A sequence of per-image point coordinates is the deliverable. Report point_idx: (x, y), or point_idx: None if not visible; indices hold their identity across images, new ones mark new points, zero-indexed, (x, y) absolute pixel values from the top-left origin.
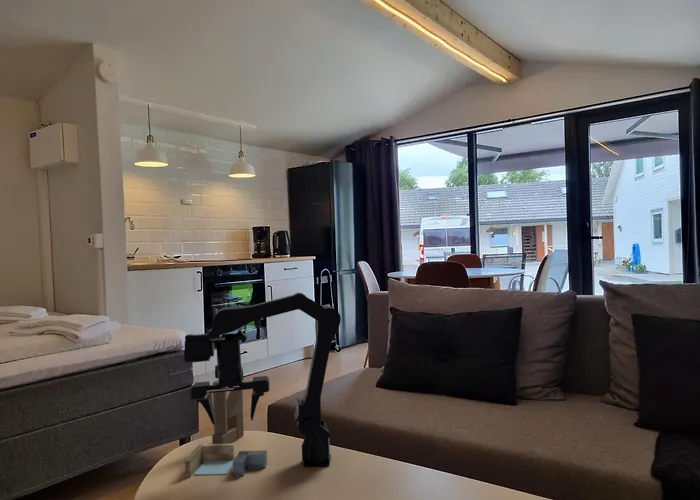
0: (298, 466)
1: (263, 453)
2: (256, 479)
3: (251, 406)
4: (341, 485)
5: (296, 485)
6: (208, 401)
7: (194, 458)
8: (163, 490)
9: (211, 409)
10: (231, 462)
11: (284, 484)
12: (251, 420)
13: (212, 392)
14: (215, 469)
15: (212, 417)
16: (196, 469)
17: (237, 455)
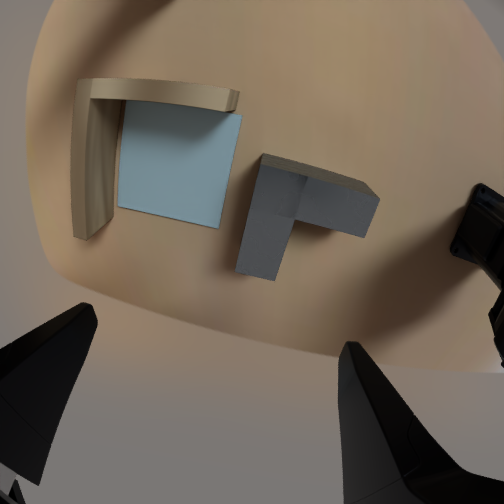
0: (439, 239)
1: (360, 227)
2: (311, 285)
3: (345, 475)
4: (455, 346)
5: (391, 334)
6: (41, 475)
7: (90, 192)
8: (81, 271)
9: (53, 415)
10: (228, 133)
11: (371, 326)
12: (341, 359)
13: (3, 494)
14: (175, 184)
15: (76, 372)
16: (114, 163)
17: (251, 213)
